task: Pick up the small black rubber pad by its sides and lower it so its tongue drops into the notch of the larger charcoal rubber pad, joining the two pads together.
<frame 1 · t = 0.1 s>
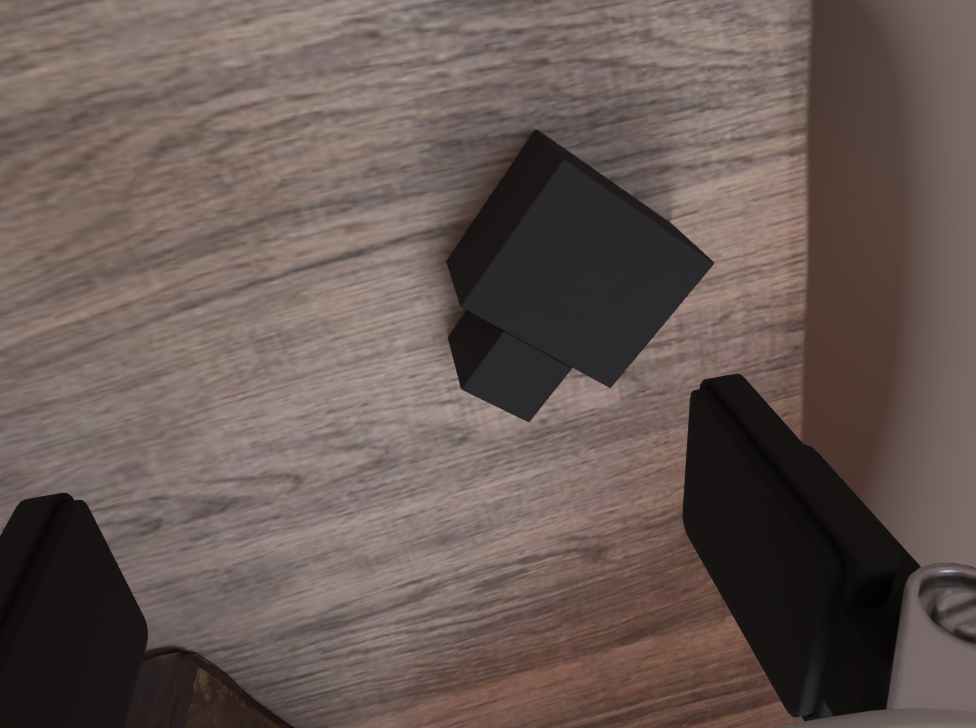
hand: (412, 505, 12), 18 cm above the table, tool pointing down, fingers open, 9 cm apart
book: (244, 725, 41), on the table
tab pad: (560, 242, 29), on the table
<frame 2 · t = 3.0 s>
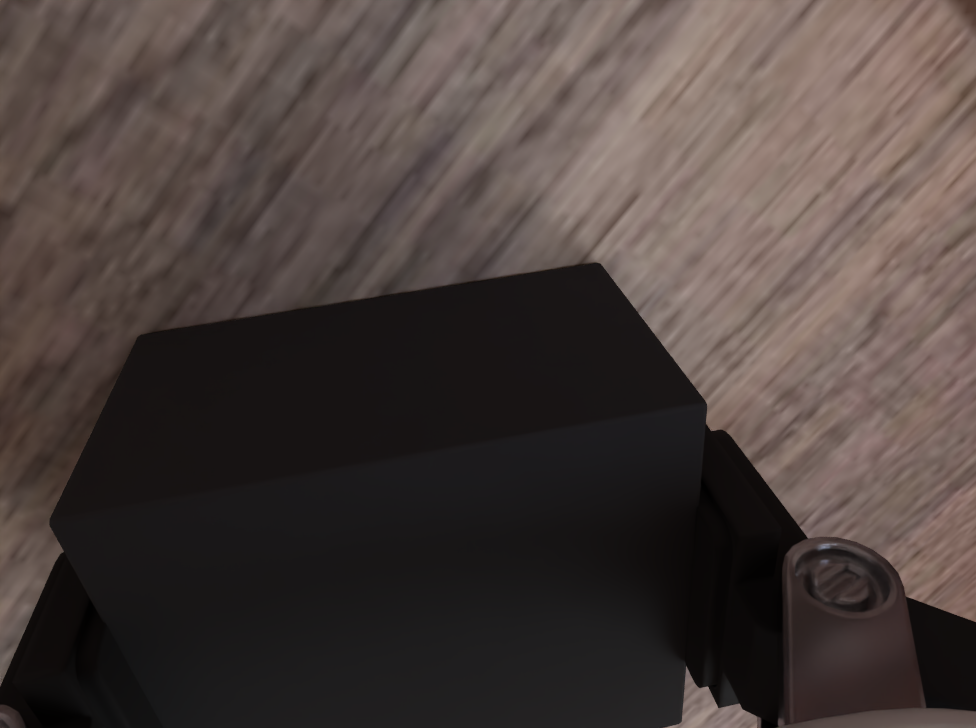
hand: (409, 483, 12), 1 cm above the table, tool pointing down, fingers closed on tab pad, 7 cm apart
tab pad: (405, 451, 13), on the table, touching gripper
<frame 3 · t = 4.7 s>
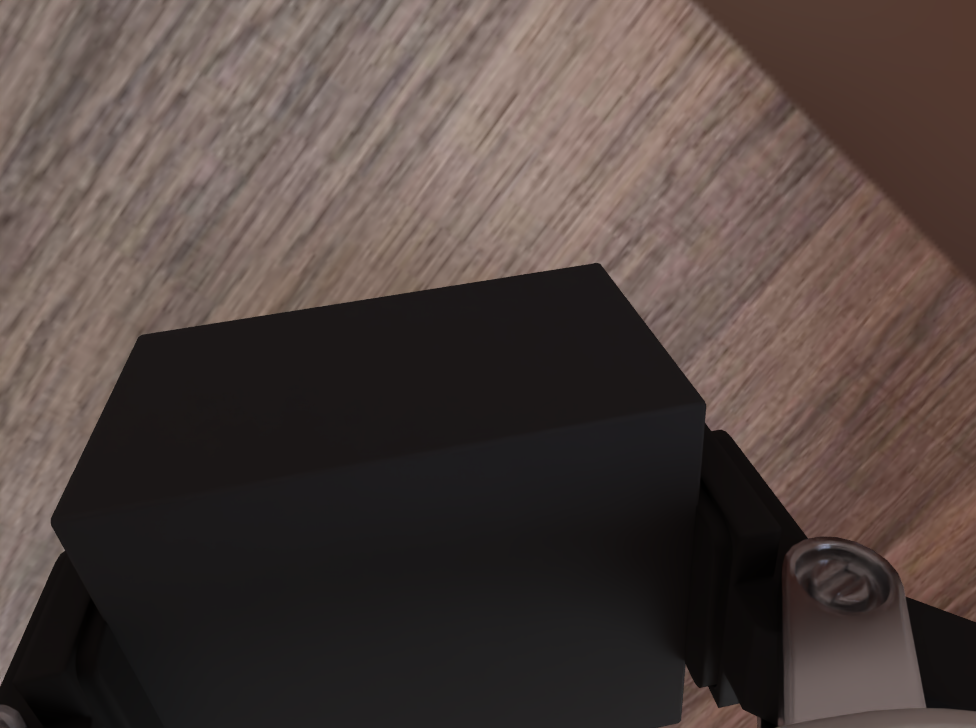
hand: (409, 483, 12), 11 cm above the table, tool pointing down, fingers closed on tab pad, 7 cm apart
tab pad: (405, 451, 13), point 10 cm above the table, touching gripper
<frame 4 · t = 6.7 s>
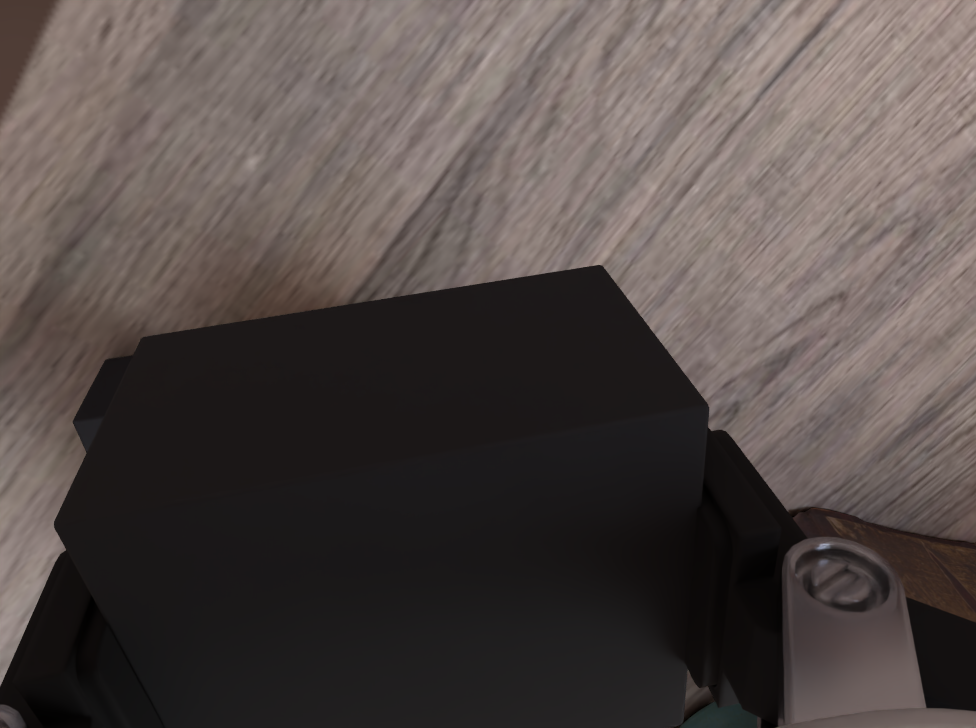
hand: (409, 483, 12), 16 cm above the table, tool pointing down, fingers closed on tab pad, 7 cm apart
notch pad: (284, 481, 31), on the table
book: (878, 553, 41), on the table
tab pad: (407, 453, 13), point 15 cm above the table, touching gripper
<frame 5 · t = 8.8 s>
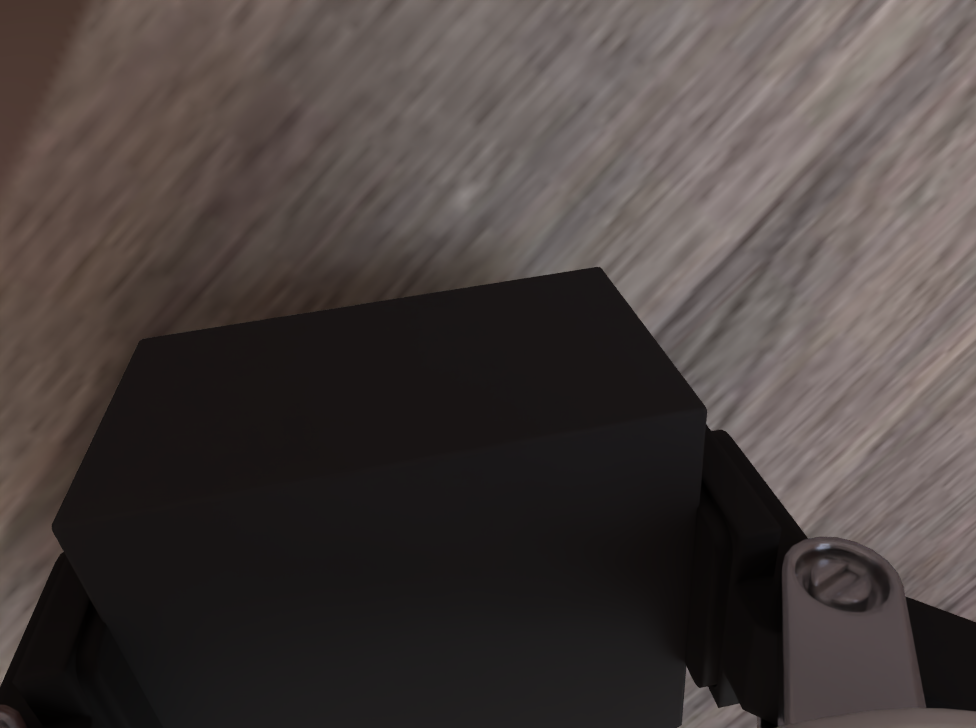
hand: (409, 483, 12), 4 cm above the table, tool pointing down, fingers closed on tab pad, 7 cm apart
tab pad: (406, 455, 13), point 3 cm above the table, touching gripper
when the fingers open (1 cm above the table, at t = 10.3 s): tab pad stays where it is, on the table.
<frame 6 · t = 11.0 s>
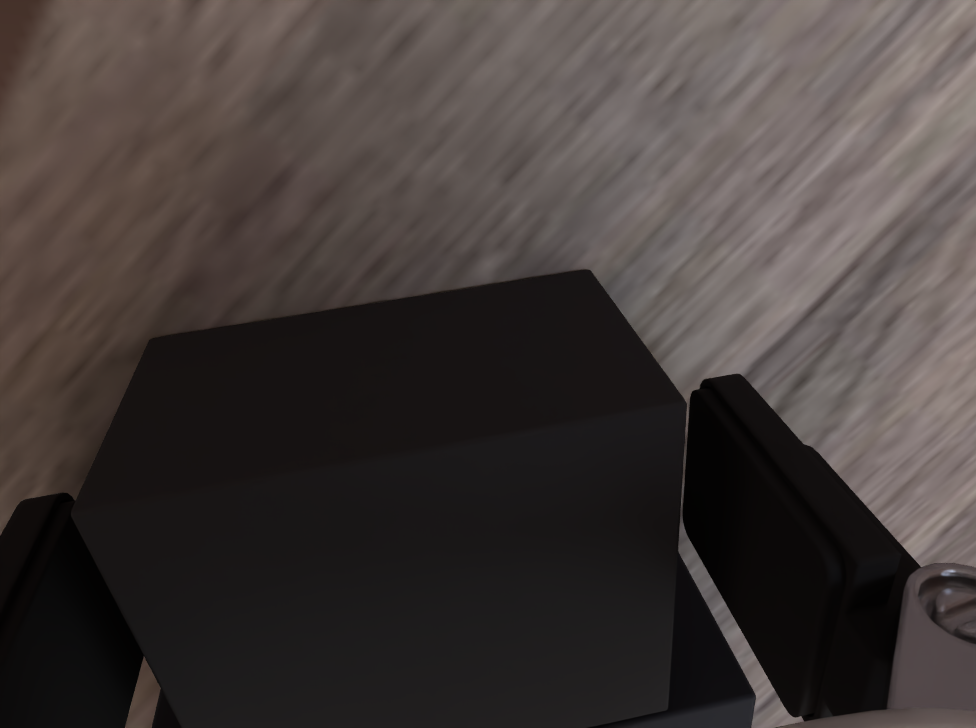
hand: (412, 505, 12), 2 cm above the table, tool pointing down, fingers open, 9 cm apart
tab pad: (404, 450, 13), on the table
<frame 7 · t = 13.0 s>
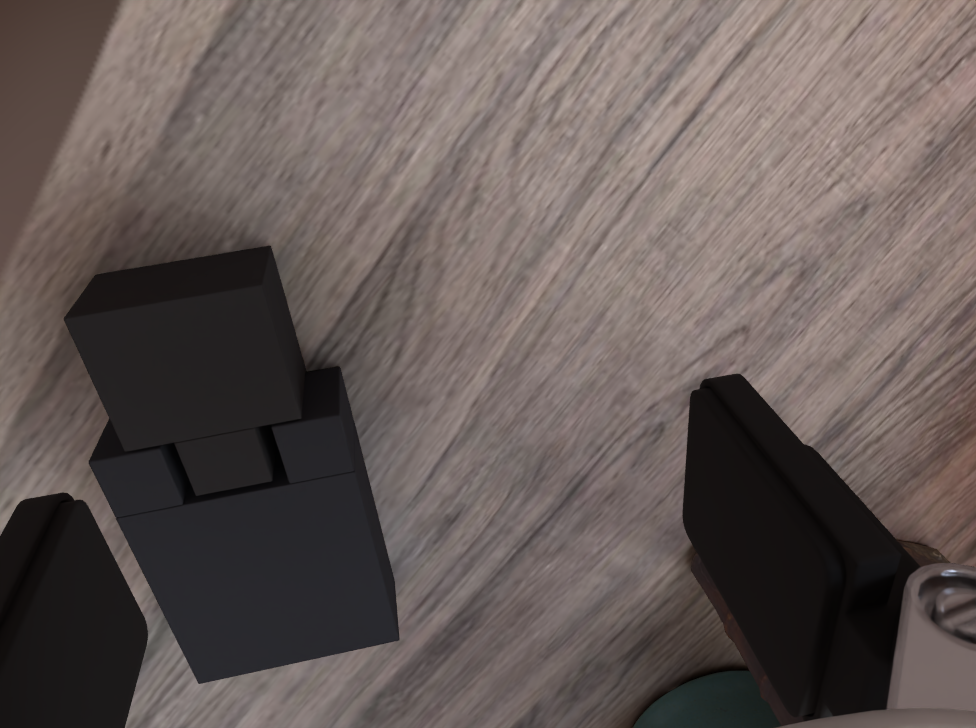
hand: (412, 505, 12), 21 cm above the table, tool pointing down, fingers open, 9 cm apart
notch pad: (269, 503, 37), on the table
flower pot: (707, 719, 53), on the table
book: (809, 551, 46), on the table
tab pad: (206, 324, 31), on the table
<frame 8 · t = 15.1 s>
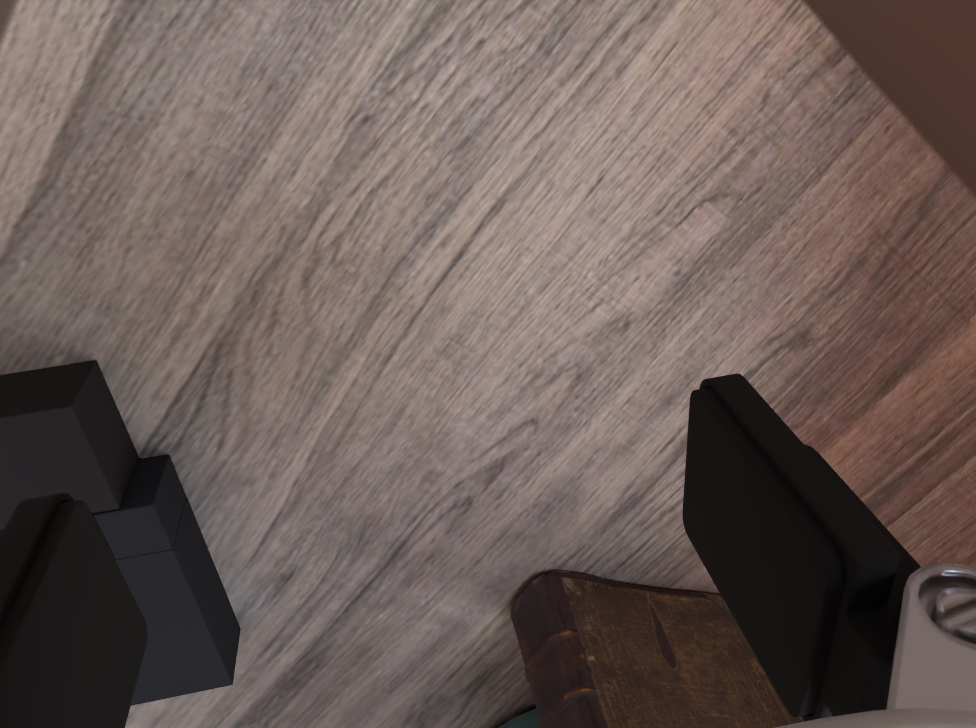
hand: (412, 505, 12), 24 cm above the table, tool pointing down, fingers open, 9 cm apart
notch pad: (118, 565, 42), on the table
book: (624, 601, 51), on the table
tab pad: (45, 422, 37), on the table
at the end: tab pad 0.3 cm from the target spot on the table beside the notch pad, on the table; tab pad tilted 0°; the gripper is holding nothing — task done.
